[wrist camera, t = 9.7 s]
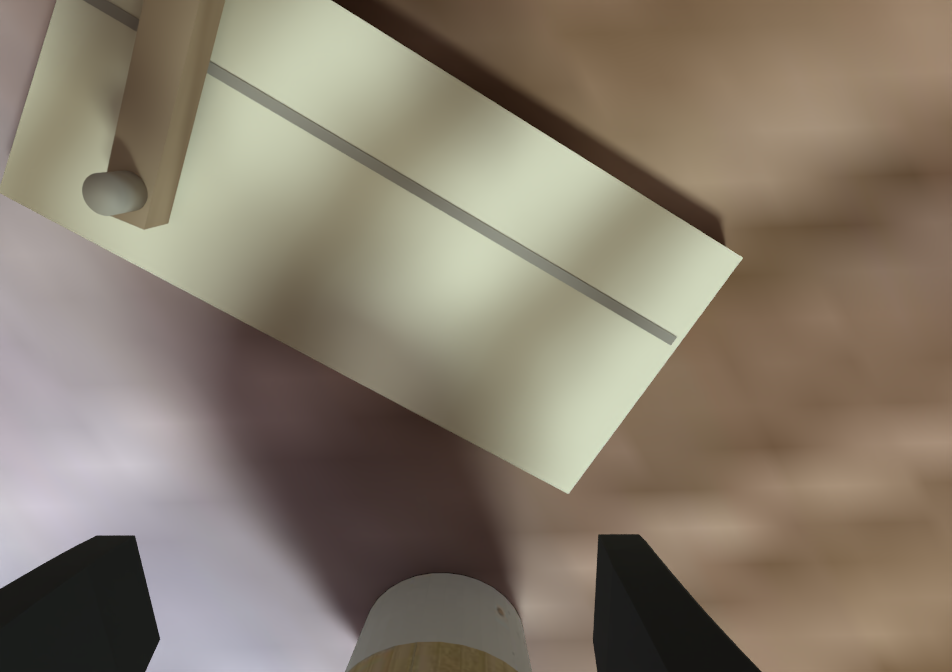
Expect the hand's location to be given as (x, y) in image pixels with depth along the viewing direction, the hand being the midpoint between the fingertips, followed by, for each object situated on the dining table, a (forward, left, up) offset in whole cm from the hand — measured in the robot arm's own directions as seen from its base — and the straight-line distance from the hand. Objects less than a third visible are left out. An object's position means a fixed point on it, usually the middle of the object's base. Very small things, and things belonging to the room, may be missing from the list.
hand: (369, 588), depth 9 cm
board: (+4, -3, -10) cm, 11 cm away
